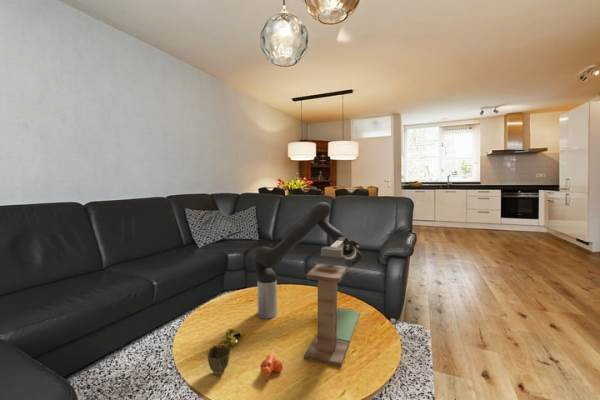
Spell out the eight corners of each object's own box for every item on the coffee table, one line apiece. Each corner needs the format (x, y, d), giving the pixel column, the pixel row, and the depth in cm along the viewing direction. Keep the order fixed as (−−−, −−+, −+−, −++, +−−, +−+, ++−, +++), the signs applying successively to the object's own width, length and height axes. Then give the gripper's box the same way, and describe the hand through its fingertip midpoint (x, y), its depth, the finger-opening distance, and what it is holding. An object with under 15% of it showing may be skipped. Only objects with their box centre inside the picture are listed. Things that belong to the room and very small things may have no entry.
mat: (332, 308, 146) (332, 307, 146) (360, 313, 141) (360, 311, 141) (316, 336, 121) (316, 334, 121) (349, 342, 116) (349, 340, 116)
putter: (335, 242, 136) (335, 236, 135) (352, 244, 133) (352, 237, 133) (320, 256, 113) (320, 248, 113) (340, 258, 111) (340, 250, 110)
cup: (224, 382, 94) (223, 358, 93) (203, 378, 95) (202, 356, 95) (233, 367, 101) (233, 345, 101) (214, 364, 103) (214, 343, 102)
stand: (315, 338, 119) (315, 263, 117) (348, 345, 114) (349, 267, 112) (303, 358, 106) (303, 274, 104) (341, 367, 101) (342, 278, 99)
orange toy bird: (268, 344, 105) (260, 365, 93) (287, 351, 105) (281, 374, 93) (263, 356, 106) (255, 379, 94) (282, 364, 105) (276, 387, 93)
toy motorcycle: (227, 325, 123) (243, 326, 122) (227, 333, 123) (243, 334, 123) (217, 341, 111) (235, 342, 110) (218, 350, 111) (235, 351, 111)
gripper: (335, 241, 148) (327, 230, 133) (362, 244, 143) (357, 232, 128) (333, 256, 145) (325, 246, 130) (361, 258, 140) (356, 248, 125)
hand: (341, 239), depth 129 cm, fingers closed on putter, 3 cm apart
